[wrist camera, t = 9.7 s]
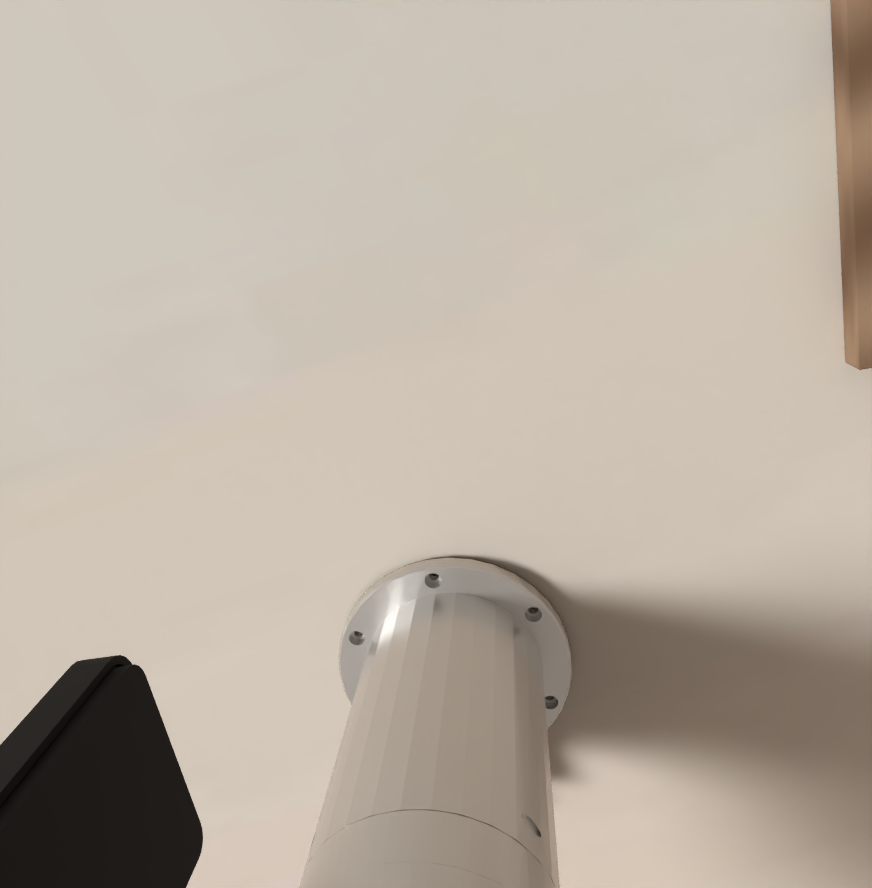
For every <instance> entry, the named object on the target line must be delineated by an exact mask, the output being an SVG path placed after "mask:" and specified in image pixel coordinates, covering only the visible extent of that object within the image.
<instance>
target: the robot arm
mask: <svg viewBox="0 0 872 888" xmlns="http://www.w3.org/2000/svg"><path fill="white" fill-rule="evenodd" d="M430 573H435V574H437V576H432V575H431V574H430ZM531 607H537V608H535V609H530V608H531ZM358 631H359V632H358ZM339 670H340V677H341V680H342V684H343V687H344V691H345V693H346V695H347V697H348V699H349V701H350V703H351V705H352V706H351V710H350V713H349V717H348V720H347V724H346V727H345V731H344V734H343V737H342V741H341V744H340V748H339V751H338V755H337V758H336V762H335V765H334V769H333V772H332V775H331V779H330V782H329V786H328V789H327V793H326V796H325V800H324V803H323V807H322V810H321V813H320V817H319V820H318V824H317V827H316V831H315V834H314V838H313V841H312V845H311V848H310V852H309V855H308V858H307V862H306V865H305V869H304V872H303V876H302V879H301V883H300V887H299V888H560V885H559V873H558V860H557V847H556V835H555V822H554V809H553V797H552V784H551V771H550V759H549V746H548V734H547V729H548V728H549V727H550V726H551V725H552V724H553V722H554V721H555V719H556V718H557V716H558V715H559V713H560V712H561V711H562V708H563V706H564V703H565V701H566V699H567V696H568V694H569V689H570V683H571V677H572V666H571V653H570V648H569V642H568V637H567V634H566V632H565V630H564V627H563V625H562V622H561V620H560V618H559V616H558V615H557V613H556V612H555V610H554V609H553V607H552V606H551V605H550V603H549V602H548V600H546V599H545V598H544V597H543V596H542V595H541V594H540V593H539V592H538V591H537V590H536V589H535V588H534V587H533V586H532V585H530V584H529V583H527V582H526V581H524V580H523V579H521V578H520V577H518V576H517V575H515V574H514V573H511V572H509V571H507V570H505V569H502V568H500V567H498V566H495V565H493V564H489V563H485V562H481V561H476V560H472V559H461V558H440V559H430V560H424V561H420V562H417V563H413V564H410V565H406V566H404V567H402V568H400V569H398V570H396V571H394V572H392V573H390V574H388V575H386V576H384V577H383V578H382V579H380V580H379V581H378V582H377V583H375V584H374V585H373V586H371V587H370V588H369V589H368V590H367V591H366V593H365V594H364V595H363V596H362V597H361V598H360V600H359V601H358V602H357V603H356V605H355V607H354V609H353V611H352V612H351V614H350V616H349V618H348V620H347V623H346V625H345V628H344V631H343V634H342V637H341V644H340V650H339ZM202 842H203V833H202V827H201V823H200V820H199V817H198V815H197V812H196V809H195V807H194V804H193V801H192V799H191V796H190V793H189V791H188V788H187V785H186V783H185V780H184V777H183V775H182V772H181V769H180V767H179V764H178V761H177V758H176V756H175V753H174V750H173V748H172V745H171V742H170V740H169V737H168V734H167V732H166V729H165V726H164V724H163V721H162V718H161V716H160V713H159V710H158V708H157V705H156V702H155V700H154V697H153V694H152V691H151V689H150V686H149V683H148V681H147V678H146V675H145V673H144V671H143V670H142V669H141V668H140V667H139V666H138V665H132V664H131V662H130V661H129V660H128V659H127V658H126V657H124V656H121V655H118V656H110V657H103V658H96V659H88V660H82V661H77V662H76V663H74V664H73V665H72V666H71V667H70V668H69V669H68V670H67V671H66V672H65V673H64V675H63V676H62V677H61V678H60V679H59V680H58V681H57V682H56V683H55V685H54V686H53V687H52V688H51V689H50V690H49V691H48V692H47V694H46V695H45V696H44V697H43V698H42V699H41V700H40V701H39V702H38V704H37V705H36V706H35V707H34V708H33V709H32V710H31V711H30V713H29V714H28V715H27V716H26V717H25V718H24V719H23V720H22V722H21V723H20V724H19V725H18V726H17V727H16V728H15V729H14V730H13V732H12V733H11V734H10V735H9V736H8V737H7V738H6V739H5V741H4V742H3V743H2V744H1V745H0V888H186V886H187V884H188V881H189V879H190V877H191V875H192V873H193V870H194V868H195V866H196V864H197V861H198V859H199V856H200V854H201V849H202Z"/></svg>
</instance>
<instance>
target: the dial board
mask: <svg viewBox="0 0 872 888" xmlns="http://www.w3.org/2000/svg"><path fill="white" fill-rule="evenodd" d="M831 24H832V48H833V72H834V96H835V120H836V144H837V168H838V192H839V216H840V241H841V265H842V289H843V313H844V337H845V361H846V363H848V364H850V365H852V366H853V367H855V368H857V369H859V370H862V369H868V368H872V0H831Z"/></svg>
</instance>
